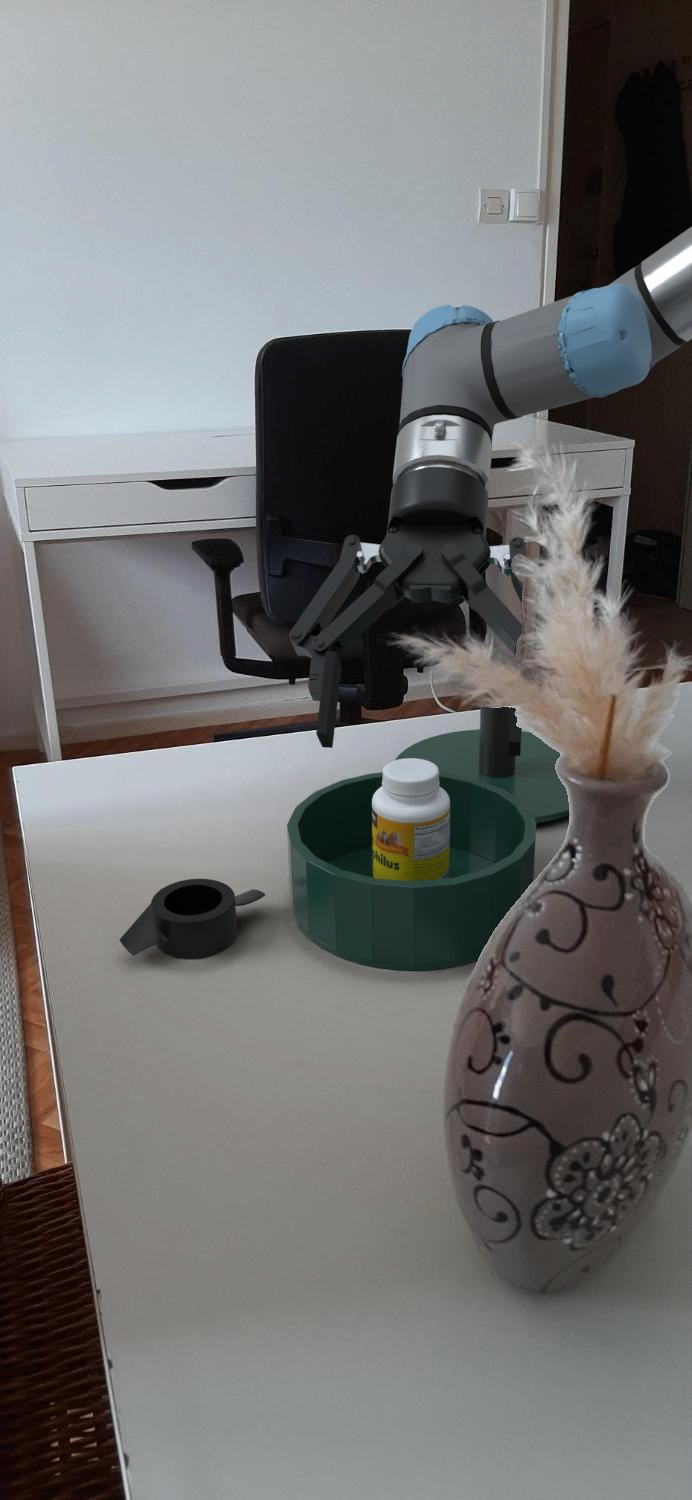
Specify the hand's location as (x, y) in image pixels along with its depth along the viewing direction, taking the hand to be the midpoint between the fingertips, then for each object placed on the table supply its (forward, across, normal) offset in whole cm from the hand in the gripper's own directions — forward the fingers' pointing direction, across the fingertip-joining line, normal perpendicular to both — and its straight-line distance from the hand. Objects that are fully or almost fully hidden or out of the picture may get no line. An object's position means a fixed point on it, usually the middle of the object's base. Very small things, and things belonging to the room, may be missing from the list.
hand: (418, 745), depth 82 cm
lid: (-6, +5, +21) cm, 23 cm away
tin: (+10, 0, +7) cm, 12 cm away
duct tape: (+14, -15, +2) cm, 21 cm away
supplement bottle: (+9, 0, +7) cm, 12 cm away
